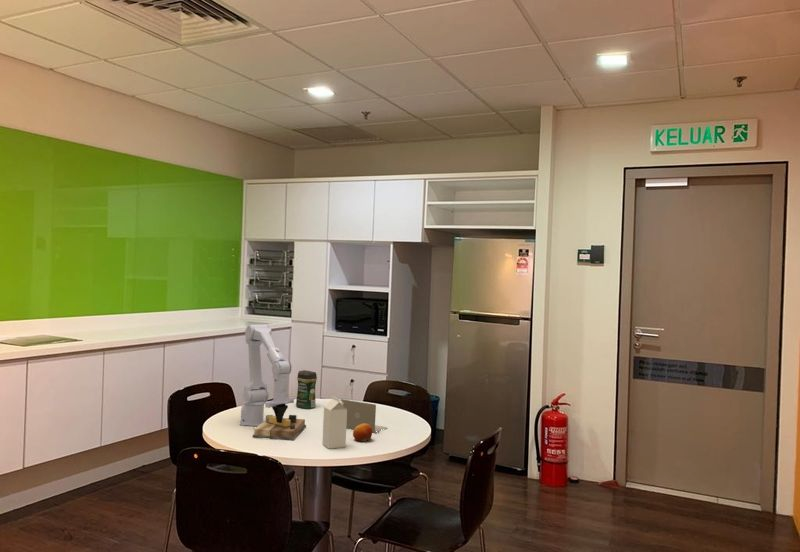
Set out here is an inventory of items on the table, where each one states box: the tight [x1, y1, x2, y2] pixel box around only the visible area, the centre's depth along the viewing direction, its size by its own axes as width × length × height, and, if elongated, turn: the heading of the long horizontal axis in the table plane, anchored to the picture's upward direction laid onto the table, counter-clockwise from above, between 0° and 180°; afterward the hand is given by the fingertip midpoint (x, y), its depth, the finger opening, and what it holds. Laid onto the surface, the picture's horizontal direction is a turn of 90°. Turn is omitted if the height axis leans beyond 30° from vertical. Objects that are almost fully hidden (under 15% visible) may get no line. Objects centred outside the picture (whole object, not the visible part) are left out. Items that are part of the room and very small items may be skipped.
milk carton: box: [321, 395, 347, 450], centre depth 233 cm, size 7×7×19 cm
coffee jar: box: [295, 369, 318, 410], centre depth 299 cm, size 10×8×19 cm
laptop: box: [340, 398, 388, 434], centre depth 263 cm, size 18×12×13 cm
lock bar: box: [265, 414, 291, 427], centre depth 249 cm, size 13×3×2 cm, turn 54°
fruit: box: [352, 423, 373, 443], centre depth 243 cm, size 8×8×8 cm
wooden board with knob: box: [252, 414, 307, 441], centre depth 249 cm, size 17×22×6 cm
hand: (279, 422), depth 246 cm, fingers closed, pressing on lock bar
